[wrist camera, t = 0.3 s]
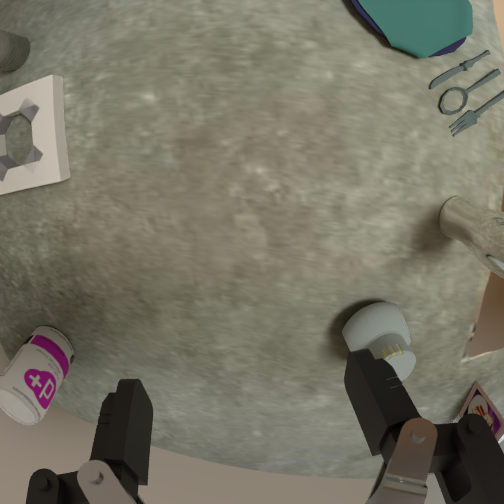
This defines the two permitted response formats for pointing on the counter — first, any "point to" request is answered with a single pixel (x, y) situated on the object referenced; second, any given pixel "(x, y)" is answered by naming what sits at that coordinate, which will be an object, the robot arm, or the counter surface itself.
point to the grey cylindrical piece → (13, 51)
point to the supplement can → (35, 375)
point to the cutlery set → (429, 38)
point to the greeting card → (483, 410)
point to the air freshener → (382, 336)
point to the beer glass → (475, 231)
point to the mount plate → (35, 135)
